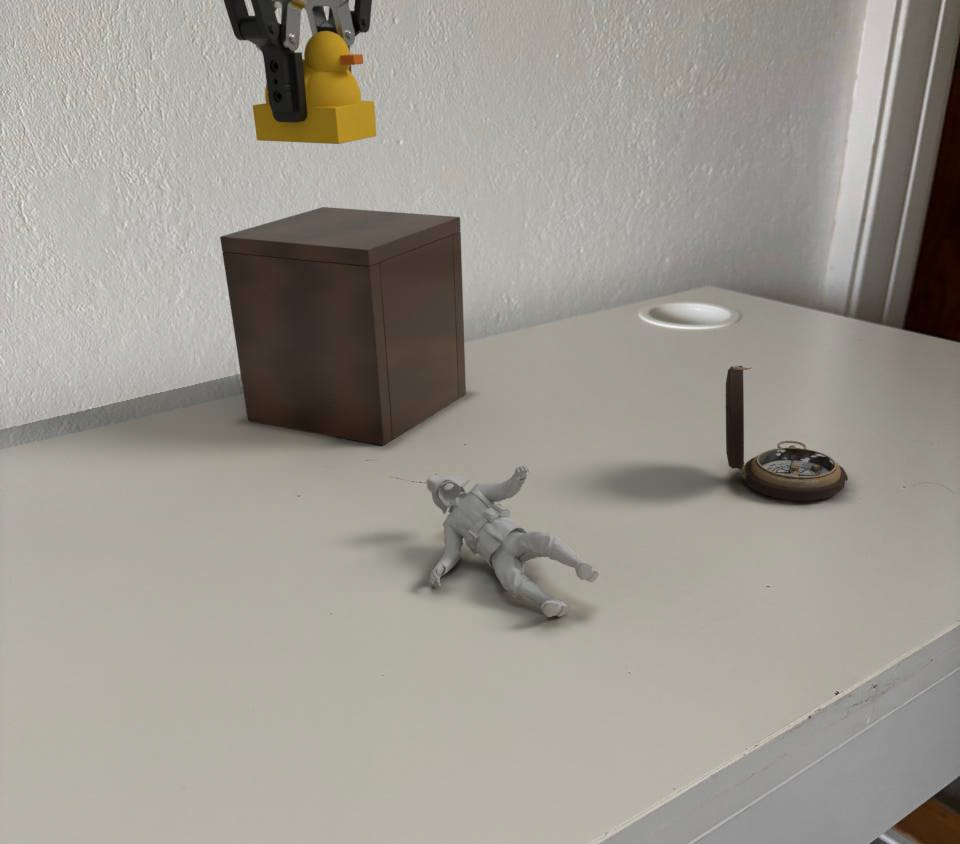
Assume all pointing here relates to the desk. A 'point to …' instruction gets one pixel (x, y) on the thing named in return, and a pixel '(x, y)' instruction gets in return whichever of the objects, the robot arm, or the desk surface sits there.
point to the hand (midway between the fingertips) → (314, 115)
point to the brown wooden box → (348, 320)
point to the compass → (777, 457)
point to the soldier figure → (499, 537)
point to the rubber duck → (323, 99)
